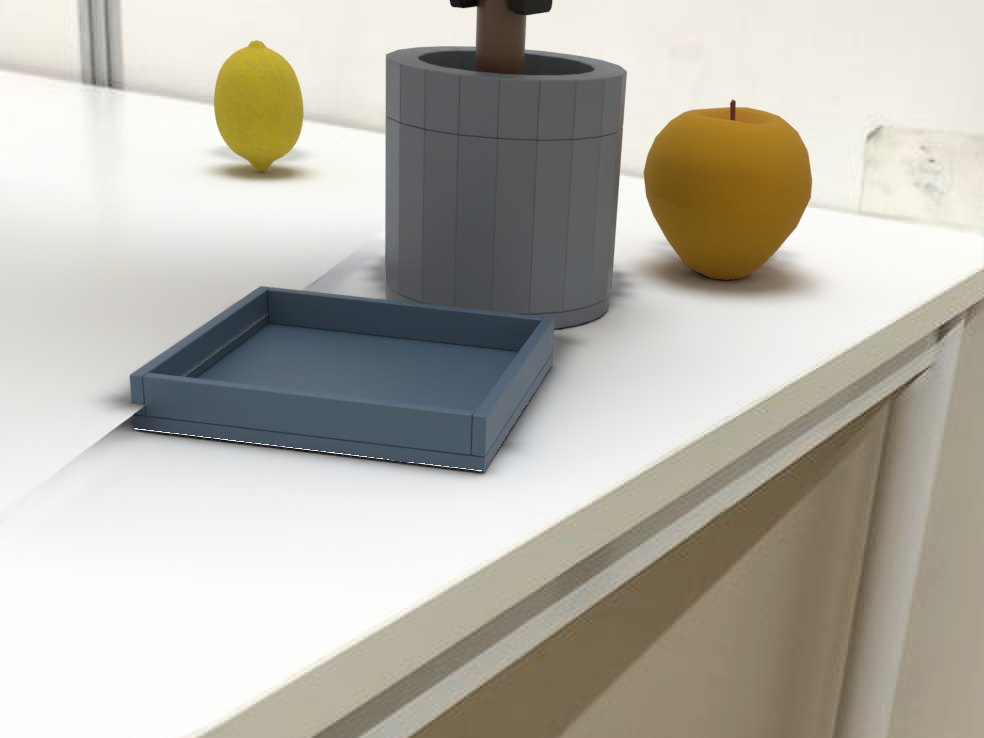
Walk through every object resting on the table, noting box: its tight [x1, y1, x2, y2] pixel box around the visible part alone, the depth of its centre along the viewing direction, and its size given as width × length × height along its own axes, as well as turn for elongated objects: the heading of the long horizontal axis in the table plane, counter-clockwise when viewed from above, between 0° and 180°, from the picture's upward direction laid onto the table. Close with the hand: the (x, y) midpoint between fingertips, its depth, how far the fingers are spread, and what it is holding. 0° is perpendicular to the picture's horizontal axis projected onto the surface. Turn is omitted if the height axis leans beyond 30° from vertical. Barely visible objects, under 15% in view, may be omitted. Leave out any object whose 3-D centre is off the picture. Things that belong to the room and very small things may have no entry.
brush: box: [475, 0, 527, 75], centre depth 67 cm, size 5×5×15 cm
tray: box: [129, 285, 555, 471], centre depth 59 cm, size 13×13×2 cm
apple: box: [643, 99, 813, 281], centre depth 79 cm, size 9×9×9 cm
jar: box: [384, 45, 628, 330], centre depth 71 cm, size 11×11×11 cm
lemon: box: [213, 39, 304, 172], centre depth 95 cm, size 6×6×8 cm
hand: (501, 5), depth 66 cm, fingers closed on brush
